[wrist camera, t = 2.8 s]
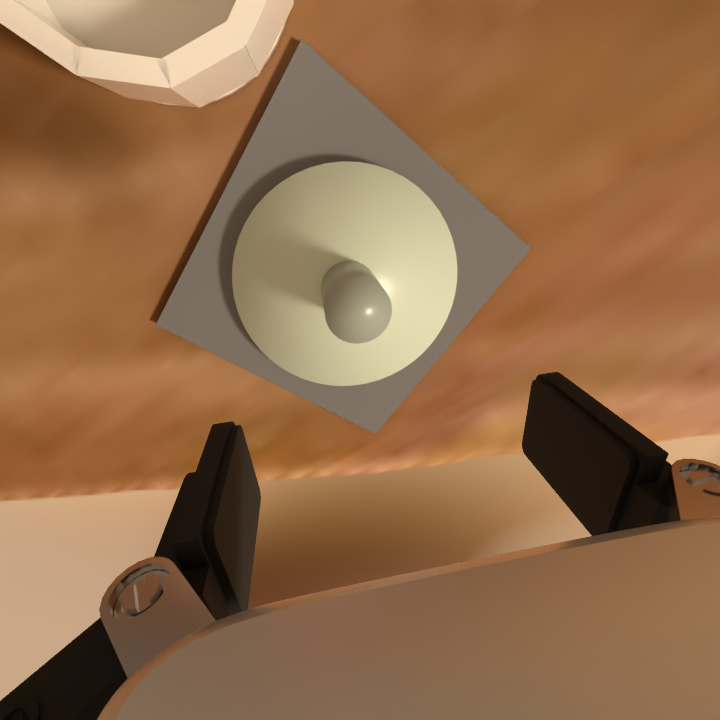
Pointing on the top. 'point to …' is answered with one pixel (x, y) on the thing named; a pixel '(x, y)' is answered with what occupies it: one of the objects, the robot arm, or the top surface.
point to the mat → (308, 149)
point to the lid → (344, 273)
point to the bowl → (155, 43)
